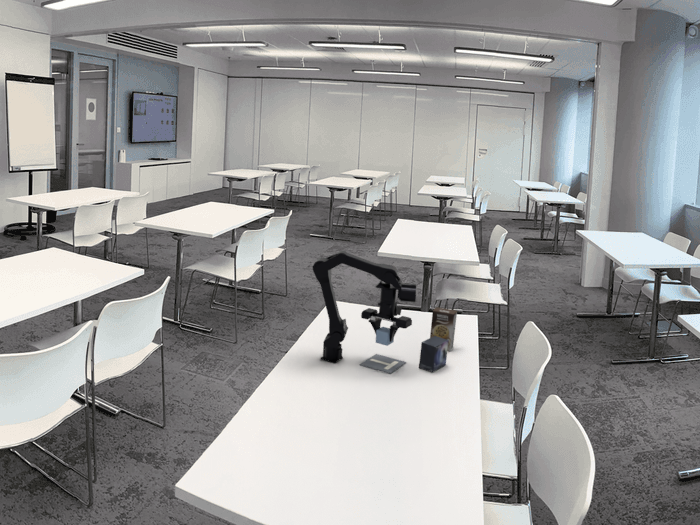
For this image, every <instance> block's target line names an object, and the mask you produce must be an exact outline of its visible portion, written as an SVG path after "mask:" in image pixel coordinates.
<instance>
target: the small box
mask: <svg viewBox="0 0 700 525" xmlns="http://www.w3.org/2000/svg"><path fill="white" fill-rule="evenodd" d="M448 341H449V340H447V339H444V338H441V337H438V336H434V337H431V338H430V337H429V338H427V339H425V340H423V341H421V343H420V344H421V346H420V353H419V354H420V355H419V363H418V368H419V369H421V370H424V371H428V372H430V373H434V372H435V371H436V372H437V370H439V369H441V368H443V367H445V366H446V365H447V358H448V357H447V356H448V351H447V350H448Z"/></svg>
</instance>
